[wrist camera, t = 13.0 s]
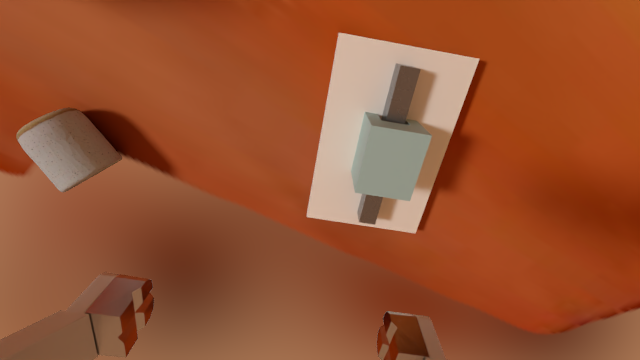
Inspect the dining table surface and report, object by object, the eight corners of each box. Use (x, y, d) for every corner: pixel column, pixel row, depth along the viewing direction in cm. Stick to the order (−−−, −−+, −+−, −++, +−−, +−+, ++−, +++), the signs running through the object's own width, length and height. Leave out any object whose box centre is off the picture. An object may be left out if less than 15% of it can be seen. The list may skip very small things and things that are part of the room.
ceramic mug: (87, 98, 39) (34, 113, 32) (134, 151, 42) (95, 176, 35) (32, 137, 41) (-27, 159, 34) (80, 185, 44) (34, 214, 37)
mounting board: (338, 32, 35) (339, 32, 34) (473, 57, 36) (479, 58, 35) (307, 211, 45) (306, 216, 44) (412, 227, 46) (415, 233, 45)
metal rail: (395, 63, 35) (400, 65, 33) (414, 66, 35) (420, 69, 33) (357, 212, 44) (358, 222, 41) (372, 214, 44) (375, 224, 42)
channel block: (364, 111, 37) (371, 125, 32) (416, 120, 38) (432, 135, 32) (351, 171, 41) (355, 192, 36) (398, 178, 41) (409, 201, 36)
